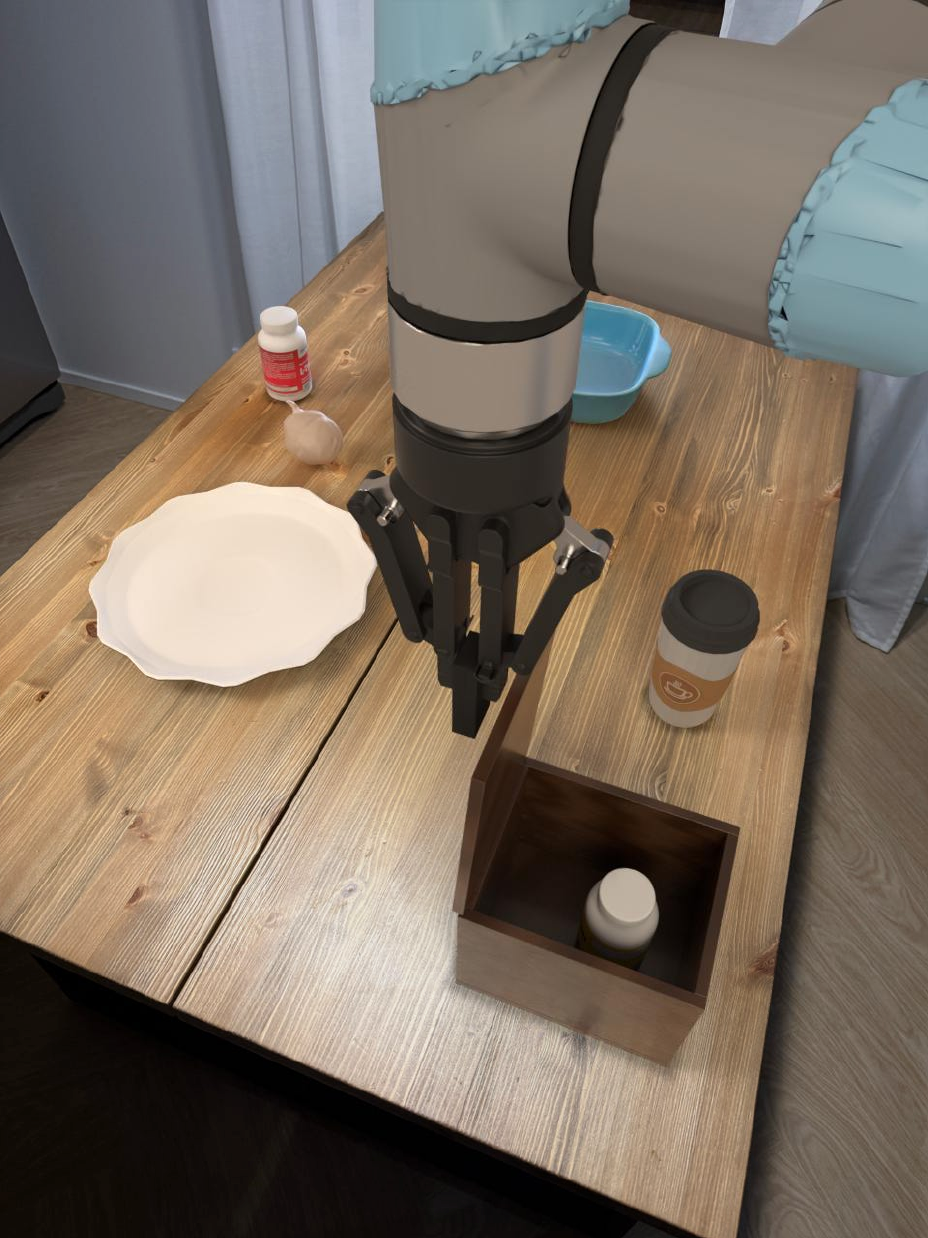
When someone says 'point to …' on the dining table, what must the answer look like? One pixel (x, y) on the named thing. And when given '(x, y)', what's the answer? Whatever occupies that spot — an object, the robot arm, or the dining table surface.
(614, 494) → the dining table surface
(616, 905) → the supplement bottle
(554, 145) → the robot arm
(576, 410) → the casserole dish
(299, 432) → the garlic bulb
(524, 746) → the lid
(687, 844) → the chest
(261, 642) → the plate
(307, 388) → the pill bottle
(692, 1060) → the dining table surface
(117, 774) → the dining table surface
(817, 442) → the dining table surface
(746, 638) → the coffee cup
